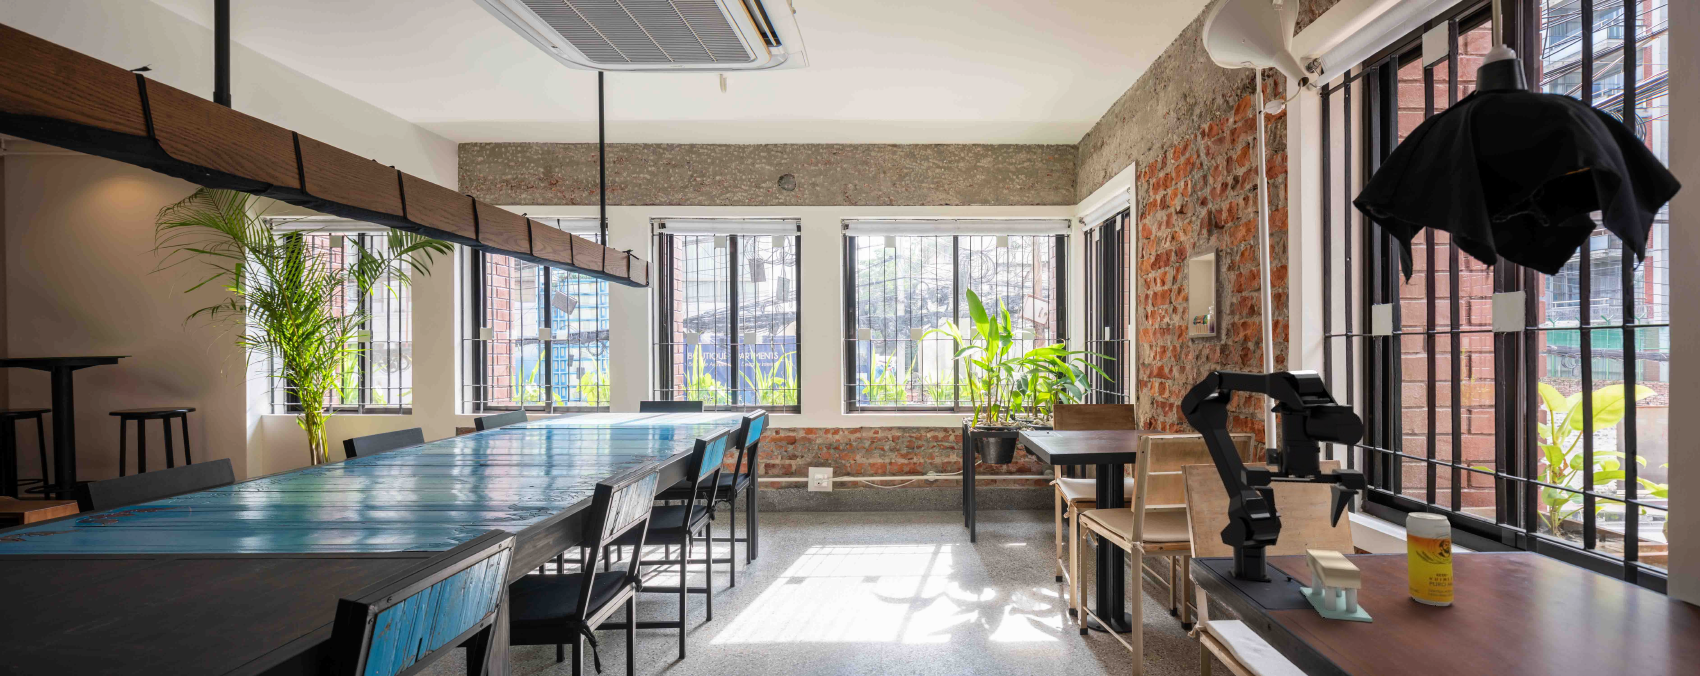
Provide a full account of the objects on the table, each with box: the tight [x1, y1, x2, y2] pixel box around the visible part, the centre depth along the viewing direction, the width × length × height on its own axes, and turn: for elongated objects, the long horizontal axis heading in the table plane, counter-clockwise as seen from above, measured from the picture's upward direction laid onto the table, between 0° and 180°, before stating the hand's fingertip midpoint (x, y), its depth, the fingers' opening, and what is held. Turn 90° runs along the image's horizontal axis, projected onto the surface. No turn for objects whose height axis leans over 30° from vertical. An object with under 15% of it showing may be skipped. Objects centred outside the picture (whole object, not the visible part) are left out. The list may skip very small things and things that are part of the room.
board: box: [1305, 548, 1362, 589], centre depth 123 cm, size 12×5×3 cm, turn 160°
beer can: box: [1405, 511, 1454, 607], centre depth 124 cm, size 6×6×15 cm
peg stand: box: [1299, 570, 1373, 623], centre depth 123 cm, size 14×7×5 cm, turn 160°
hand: (1303, 525), depth 127 cm, fingers open, 9 cm apart
